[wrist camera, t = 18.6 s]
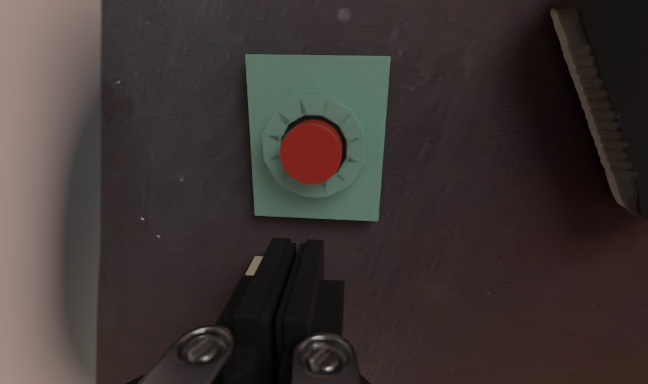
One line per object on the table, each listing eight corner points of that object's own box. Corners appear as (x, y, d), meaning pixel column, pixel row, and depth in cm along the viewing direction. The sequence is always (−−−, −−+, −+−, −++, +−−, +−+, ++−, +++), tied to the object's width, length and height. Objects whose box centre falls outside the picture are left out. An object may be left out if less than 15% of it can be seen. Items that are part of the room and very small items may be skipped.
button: (341, 175, 22) (340, 185, 20) (286, 173, 22) (280, 183, 21) (343, 119, 21) (342, 124, 19) (285, 118, 21) (278, 123, 19)
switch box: (377, 213, 26) (379, 231, 23) (259, 208, 26) (248, 225, 24) (388, 56, 22) (393, 55, 19) (251, 55, 23) (236, 53, 20)
